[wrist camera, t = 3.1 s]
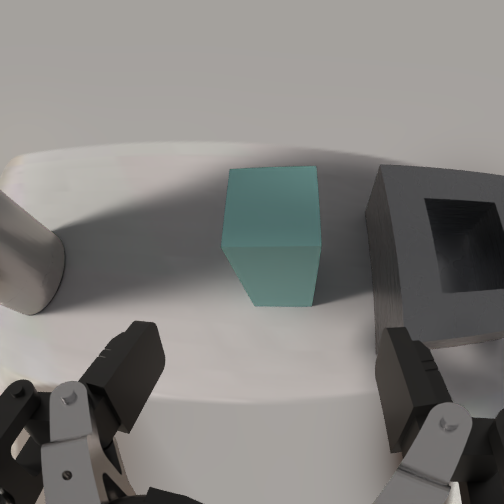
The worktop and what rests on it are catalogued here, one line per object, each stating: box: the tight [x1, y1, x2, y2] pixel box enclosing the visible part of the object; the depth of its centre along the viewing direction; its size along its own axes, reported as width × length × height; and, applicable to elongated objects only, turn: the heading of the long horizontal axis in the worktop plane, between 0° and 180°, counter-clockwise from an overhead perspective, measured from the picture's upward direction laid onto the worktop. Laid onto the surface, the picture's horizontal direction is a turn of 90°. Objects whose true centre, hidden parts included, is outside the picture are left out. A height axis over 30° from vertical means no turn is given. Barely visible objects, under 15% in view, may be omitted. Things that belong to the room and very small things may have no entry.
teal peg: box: [221, 166, 322, 307], centre depth 17 cm, size 4×4×10 cm
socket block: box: [365, 165, 504, 354], centre depth 17 cm, size 11×11×6 cm
